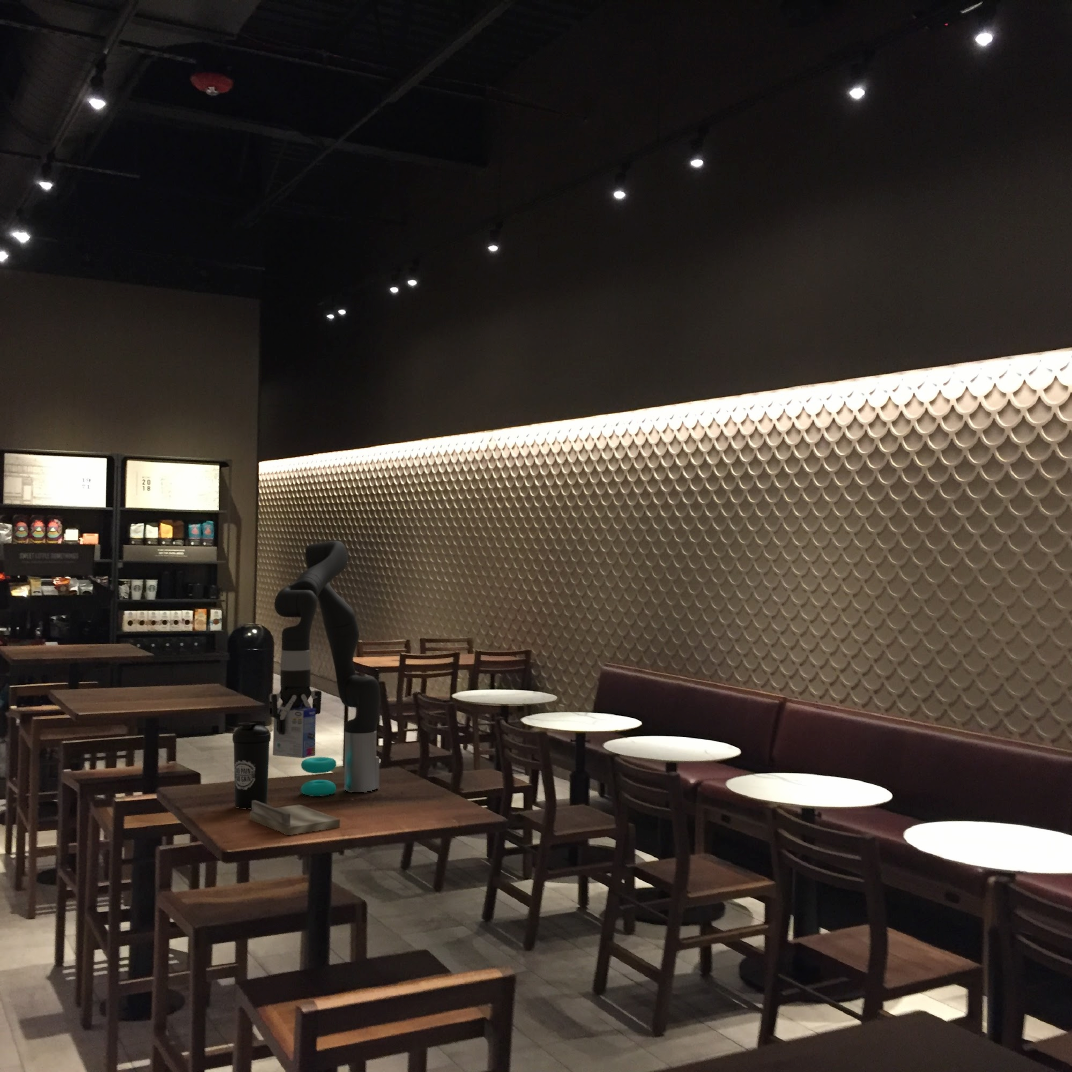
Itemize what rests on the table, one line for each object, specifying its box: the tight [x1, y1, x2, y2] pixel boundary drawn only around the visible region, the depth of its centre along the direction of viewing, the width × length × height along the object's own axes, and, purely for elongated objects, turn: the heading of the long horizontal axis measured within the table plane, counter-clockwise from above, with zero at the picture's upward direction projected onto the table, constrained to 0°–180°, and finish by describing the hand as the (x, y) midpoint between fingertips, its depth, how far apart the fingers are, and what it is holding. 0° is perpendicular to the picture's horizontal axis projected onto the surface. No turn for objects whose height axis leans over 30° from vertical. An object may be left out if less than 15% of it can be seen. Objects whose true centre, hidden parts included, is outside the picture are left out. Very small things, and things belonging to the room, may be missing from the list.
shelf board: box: [249, 800, 341, 836], centre depth 273 cm, size 14×22×5 cm, turn 39°
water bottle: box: [231, 719, 272, 810], centre depth 293 cm, size 10×10×23 cm
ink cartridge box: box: [272, 702, 317, 759], centre depth 273 cm, size 10×6×14 cm, turn 64°
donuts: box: [300, 756, 337, 796], centre depth 309 cm, size 10×10×10 cm
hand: (295, 732), depth 273 cm, fingers closed on ink cartridge box, 7 cm apart
